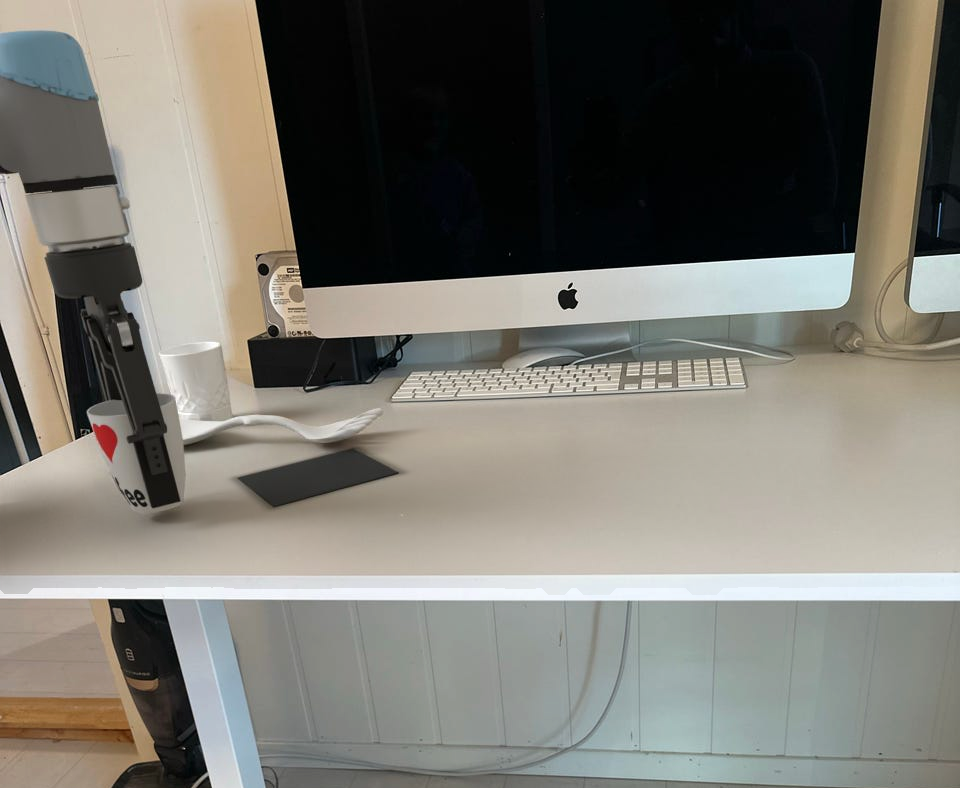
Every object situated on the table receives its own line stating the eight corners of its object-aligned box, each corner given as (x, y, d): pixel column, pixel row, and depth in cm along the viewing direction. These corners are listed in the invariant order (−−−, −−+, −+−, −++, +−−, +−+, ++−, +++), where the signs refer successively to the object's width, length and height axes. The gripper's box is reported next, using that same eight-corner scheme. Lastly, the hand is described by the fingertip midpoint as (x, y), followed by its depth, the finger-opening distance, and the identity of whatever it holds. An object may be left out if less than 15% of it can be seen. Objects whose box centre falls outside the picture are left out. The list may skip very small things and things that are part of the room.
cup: (111, 502, 92) (82, 404, 88) (191, 484, 95) (166, 388, 91) (122, 525, 86) (91, 421, 81) (207, 505, 89) (182, 404, 84)
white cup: (244, 423, 120) (227, 346, 115) (185, 437, 117) (166, 358, 112) (228, 412, 126) (211, 339, 122) (172, 425, 123) (152, 349, 119)
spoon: (357, 456, 103) (352, 426, 101) (124, 454, 113) (116, 426, 111) (387, 432, 110) (383, 404, 109) (166, 432, 120) (159, 406, 118)
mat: (274, 506, 91) (273, 505, 91) (237, 478, 100) (237, 477, 100) (398, 473, 96) (398, 472, 96) (353, 449, 106) (353, 448, 106)
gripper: (158, 243, 73) (222, 511, 84) (109, 235, 89) (168, 460, 100) (60, 256, 70) (140, 532, 81) (27, 245, 85) (98, 477, 96)
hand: (155, 492), depth 90 cm, fingers closed on cup, 8 cm apart
